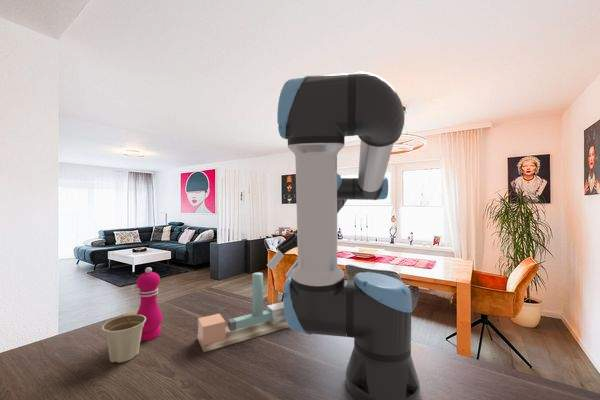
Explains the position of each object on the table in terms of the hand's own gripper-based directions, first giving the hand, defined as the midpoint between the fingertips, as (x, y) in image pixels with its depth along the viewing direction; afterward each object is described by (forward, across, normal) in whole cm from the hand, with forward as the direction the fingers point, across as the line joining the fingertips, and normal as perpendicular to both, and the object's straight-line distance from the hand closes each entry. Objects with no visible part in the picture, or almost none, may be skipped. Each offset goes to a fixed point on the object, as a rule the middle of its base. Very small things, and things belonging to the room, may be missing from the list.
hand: (278, 272), depth 87 cm
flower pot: (+41, +3, +18) cm, 45 cm away
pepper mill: (+37, +12, +15) cm, 41 cm away
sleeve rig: (+18, -1, -4) cm, 19 cm away
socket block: (+26, -1, +5) cm, 26 cm away
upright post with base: (+14, -1, -5) cm, 15 cm away
